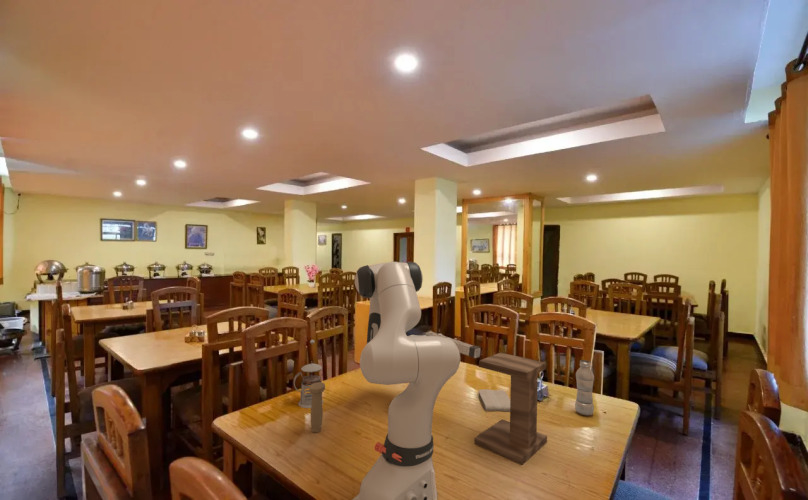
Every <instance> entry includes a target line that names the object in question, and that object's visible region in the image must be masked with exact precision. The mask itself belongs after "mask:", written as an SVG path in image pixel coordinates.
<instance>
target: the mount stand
mask: <svg viewBox="0 0 808 500" xmlns="http://www.w3.org/2000/svg"><path fill="white" fill-rule="evenodd" d="M478 368H482V369H486V370H489V371H493V372H496V373H500V374H504V375H507V376H510V396H509V399H510V412H509V421H508V420H506V419H502V418H501V419H500V420H498V421H497V422H496V423H494V424H492V425H491V426H490V427H488V428H487V429H485V430H483V431H482V432H481V433H479V434H478V435H476V436H475V437H474V439H473V440H474V443H473V444H474V445H476V446H478V447H480V448H483V449H485V450H487V451H490V453H491V452H492V453H494V454H497V455H498V456H501V457H502V458H504V459H505V458H506V459H507V460H510V461H512V462H515V463H516V464H519V465H520V466H523V465H524V464H525V463H527V461H529V460H530V459H531V458H532V457H533V456H534V455H535V454H536V453H538V451H539V450H540V449H541V448H543V447H544V446H545V445H546V443H548V435H546V434H544V433H540V432H538V430H537V429H538V428H537V427H538V421H537V420H538V377H539V375H538V374H540V373H542V372H543V371H545V370H546V369H547V362H544V361H539V360H535V359H531V358H526V357H523V356H518V355H514V354H513V355H512V354H509V353H505V352H498V353H495V354H493V355H490V356H487V357H486V358H482V359H480V360H479V361H478Z"/></svg>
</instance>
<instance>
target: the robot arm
mask: <svg viewBox="0 0 808 500" xmlns="http://www.w3.org/2000/svg"><path fill="white" fill-rule="evenodd" d="M354 277H355V278H354V285H355V286H354V287H355V288H356V291H357V292H358V295H359V296H361V297H362V298H366V299H367V298H368V299H369V311H368V322H367V335H366V344H365V346H364V347H363V349H362V351H361V353H360V357H359V358H360V359H359V368H360V371H361V374H362V375H363V377H364V379H365V380H366V381H367V383H370V384H377V385H384V386H390V385H400V384H402V385H403V384H407V386H406V388H405V389H404V390H402V392H400V393H399V394H397V395H396V396H395V397H394V398H392V400H391V402H390V403H389V406H388V410H387V412H388V413H387V415H388V416H387V434H386V436H385V439H384V443H383V444H382V443H381V442H379V441H378V442H376V443H375V445H374V451H375V452H377V453H379V454H380V456H379V457H378V459H376V461H375V462H374V464H373V465H372V466H371V468H370V469H369V471H368V472H367V473H366V475H365V476H364V477H363V479H362V480H361V483H360V487H359V493H358V494H357V495H356V496H355V497H354V498H353V499H352V500H438V491H437V486H436V473H435V467H434V463H433V454H434V445H435V444H434V437H433V434H432V433H433V432H432V431H433V418H434V417H433V416H434V408H435V404H436V401H437V398H438V396H439V394H440V393H441V390H442V388H443V387H444V386H445V385H446V383H447V382H448V381H449V380H450V379H451V378H452V377H453V376H454V375H456V374H457V372H458V370H459V368H460V364H461V353H459V350H458V347H457V346H456V344H455V343H454V342H453V341H452V340H451V339H450V338H451V337H449V338H444V337H438V336H426V334H423V335H422V334H421V335H417V334H416V335H415V334H411V335H407V332H408V331H411V330H412V329H413V328H414V327H416V326H417V325H418V324H419V322H420V320H421V317H422V309H421V307H420V301H419V299H418V294H417V292H419V291H420V289H421V288H422V287H423V286H422V285H423V280H424V278H423V277H424V275H423V272H422V270H421V267H420V266H419V264H418V263H417V262H414V261H405V262H399V261H389V262H380V263H376V264H372V265H368V264H367V265H363V266H360V267H359V268H358V269H357V270H356V274H355V276H354ZM439 334H440V335H443V334H442V333H439Z"/></svg>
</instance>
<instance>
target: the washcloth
mask: <svg viewBox="0 0 808 500" xmlns="http://www.w3.org/2000/svg"><path fill="white" fill-rule="evenodd" d="M478 397H479V400H480V402H481V405H482V407H483V410H484V411H486V412H503V413H505V412H509V413H510V396H509V395H508V394H507V392H506V391H505V390H504V389H495V390H494V389H488V388H486V389H484V388H483V389H479V390H478Z"/></svg>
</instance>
